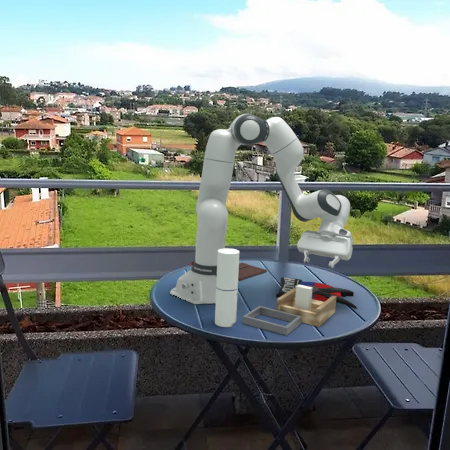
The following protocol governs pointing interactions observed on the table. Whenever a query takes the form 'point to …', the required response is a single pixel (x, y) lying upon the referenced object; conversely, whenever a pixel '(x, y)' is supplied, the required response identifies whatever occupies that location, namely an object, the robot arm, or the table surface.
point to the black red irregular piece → (317, 290)
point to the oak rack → (308, 317)
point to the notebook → (249, 271)
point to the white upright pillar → (303, 297)
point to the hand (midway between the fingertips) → (318, 264)
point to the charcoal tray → (284, 330)
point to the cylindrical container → (226, 287)
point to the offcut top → (314, 303)
